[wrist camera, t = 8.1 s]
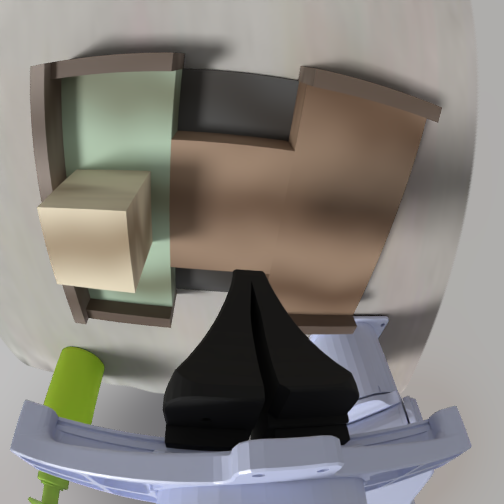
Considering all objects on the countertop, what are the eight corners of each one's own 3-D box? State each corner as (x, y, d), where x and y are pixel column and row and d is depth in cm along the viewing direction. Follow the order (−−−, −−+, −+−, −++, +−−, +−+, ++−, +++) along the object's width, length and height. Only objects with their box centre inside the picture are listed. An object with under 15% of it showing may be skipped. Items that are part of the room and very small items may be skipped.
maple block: (152, 241, 20) (135, 293, 16) (85, 236, 19) (57, 283, 15) (150, 171, 17) (125, 211, 13) (76, 169, 17) (37, 207, 13)
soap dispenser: (50, 355, 32) (11, 495, 16) (76, 341, 30) (33, 506, 14) (84, 379, 35) (56, 514, 19) (113, 368, 33) (86, 524, 17)
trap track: (341, 303, 28) (355, 340, 24) (91, 285, 25) (75, 322, 22) (411, 96, 17) (448, 110, 14) (67, 60, 14) (30, 66, 11)
